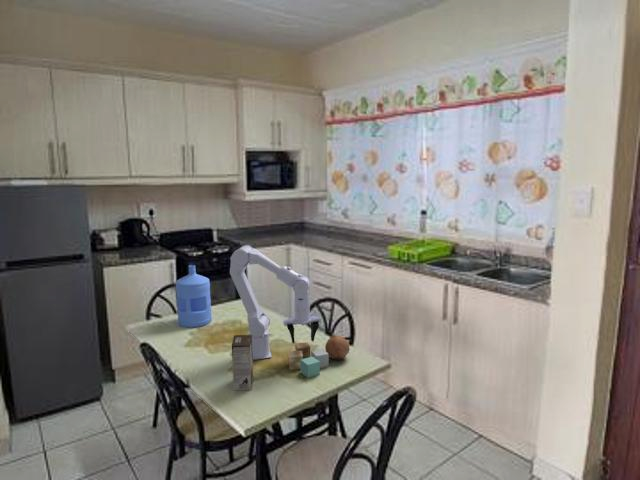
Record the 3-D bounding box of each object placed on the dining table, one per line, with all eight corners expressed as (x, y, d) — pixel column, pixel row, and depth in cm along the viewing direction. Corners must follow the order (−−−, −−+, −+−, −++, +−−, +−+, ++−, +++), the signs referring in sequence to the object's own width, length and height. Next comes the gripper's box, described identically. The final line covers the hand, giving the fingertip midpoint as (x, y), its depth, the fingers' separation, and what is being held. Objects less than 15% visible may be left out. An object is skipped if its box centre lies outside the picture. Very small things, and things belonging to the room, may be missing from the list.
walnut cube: (297, 360, 169) (297, 348, 169) (295, 355, 174) (295, 343, 173) (310, 359, 171) (310, 347, 170) (307, 354, 175) (307, 342, 175)
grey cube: (316, 368, 163) (316, 356, 162) (311, 363, 167) (311, 351, 166) (328, 366, 165) (328, 353, 164) (323, 361, 169) (323, 348, 168)
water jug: (186, 316, 220) (183, 261, 216) (216, 317, 218) (214, 262, 213) (172, 327, 205) (168, 269, 200) (204, 328, 203) (201, 270, 198)
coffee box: (235, 377, 156) (233, 334, 153) (253, 377, 156) (252, 334, 154) (232, 390, 147) (230, 345, 144) (252, 389, 147) (250, 344, 145)
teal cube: (308, 378, 156) (307, 364, 155) (300, 372, 160) (300, 359, 159) (319, 374, 158) (319, 361, 157) (312, 369, 162) (312, 356, 162)
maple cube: (289, 369, 162) (289, 356, 161) (289, 363, 167) (288, 351, 166) (302, 369, 163) (302, 356, 162) (302, 363, 167) (302, 350, 167)
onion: (330, 362, 175) (324, 337, 177) (353, 356, 174) (346, 331, 176) (327, 364, 165) (320, 337, 168) (351, 357, 165) (344, 331, 167)
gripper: (285, 312, 164) (286, 347, 166) (322, 309, 167) (323, 343, 169) (282, 307, 170) (283, 340, 173) (318, 304, 174) (319, 336, 176)
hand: (302, 341), depth 171 cm, fingers open, 7 cm apart
